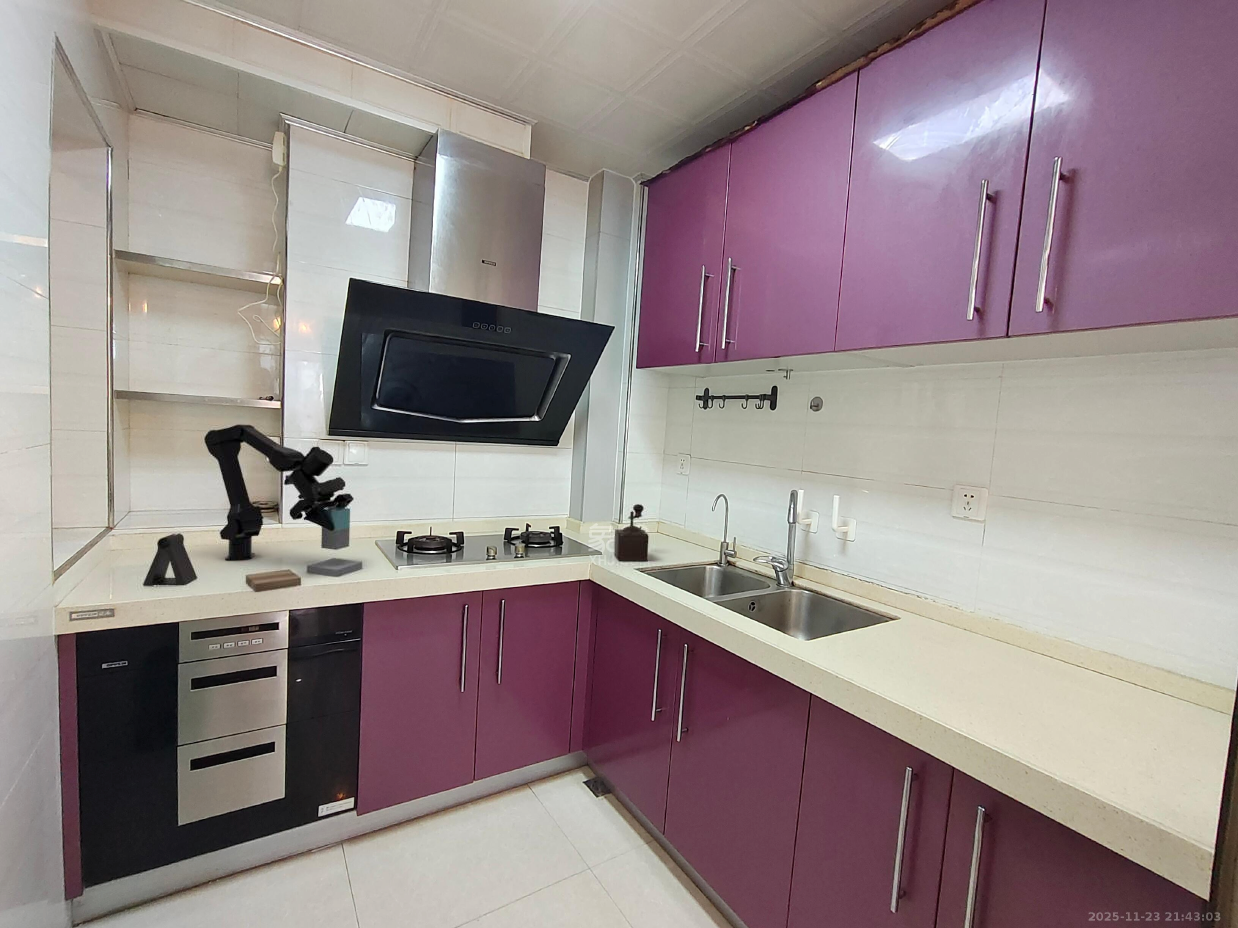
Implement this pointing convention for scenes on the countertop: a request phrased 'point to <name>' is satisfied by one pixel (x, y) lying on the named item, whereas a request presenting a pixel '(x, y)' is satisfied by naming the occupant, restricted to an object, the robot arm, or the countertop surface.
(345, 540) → the block
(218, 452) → the robot arm
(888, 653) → the countertop surface
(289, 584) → the stand
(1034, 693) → the countertop surface
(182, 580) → the phone stand
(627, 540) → the manual coffee grinder
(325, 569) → the stand
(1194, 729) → the countertop surface
